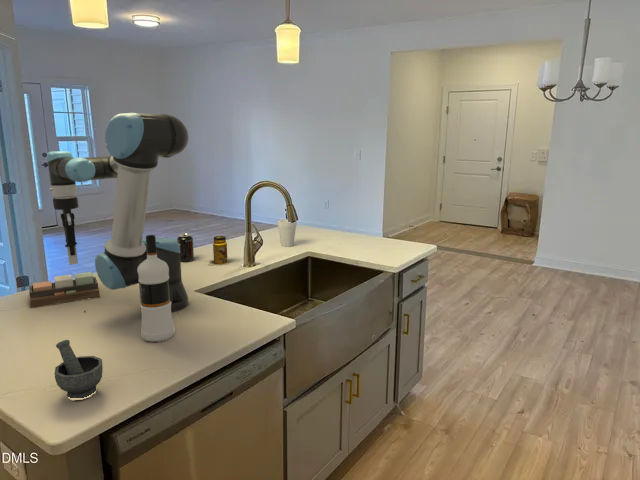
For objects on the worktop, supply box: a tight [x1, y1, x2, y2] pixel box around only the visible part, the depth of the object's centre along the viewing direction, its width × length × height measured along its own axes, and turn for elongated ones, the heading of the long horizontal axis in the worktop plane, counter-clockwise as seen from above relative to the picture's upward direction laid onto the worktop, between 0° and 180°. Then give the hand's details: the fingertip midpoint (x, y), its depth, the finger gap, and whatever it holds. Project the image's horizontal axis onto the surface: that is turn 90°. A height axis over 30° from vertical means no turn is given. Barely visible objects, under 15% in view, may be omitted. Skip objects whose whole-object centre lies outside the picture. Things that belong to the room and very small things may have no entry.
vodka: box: [137, 234, 176, 343], centre depth 133 cm, size 9×9×30 cm
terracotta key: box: [32, 280, 53, 292], centre depth 163 cm, size 6×6×3 cm
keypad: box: [28, 276, 101, 309], centre depth 167 cm, size 13×21×4 cm, turn 120°
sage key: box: [74, 271, 94, 286], centre depth 169 cm, size 6×6×3 cm
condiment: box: [208, 235, 229, 266], centre depth 209 cm, size 7×8×12 cm
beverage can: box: [176, 233, 195, 263], centre depth 212 cm, size 7×7×12 cm
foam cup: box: [277, 218, 297, 248], centre depth 241 cm, size 10×9×13 cm
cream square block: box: [53, 274, 74, 289], centre depth 166 cm, size 6×6×3 cm
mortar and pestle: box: [54, 339, 104, 398], centre depth 105 cm, size 11×9×12 cm
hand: (73, 263), depth 166 cm, fingers closed
